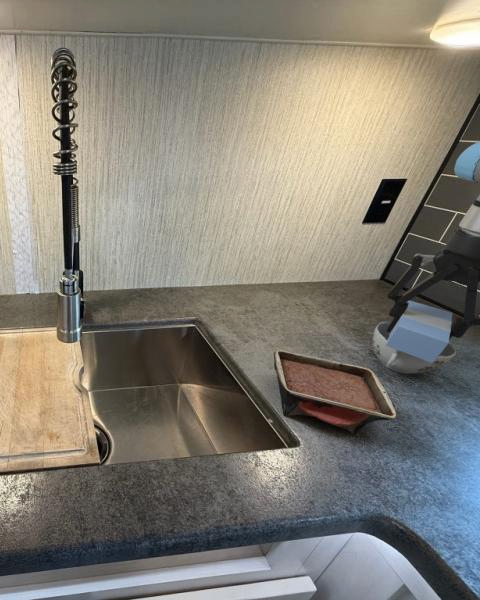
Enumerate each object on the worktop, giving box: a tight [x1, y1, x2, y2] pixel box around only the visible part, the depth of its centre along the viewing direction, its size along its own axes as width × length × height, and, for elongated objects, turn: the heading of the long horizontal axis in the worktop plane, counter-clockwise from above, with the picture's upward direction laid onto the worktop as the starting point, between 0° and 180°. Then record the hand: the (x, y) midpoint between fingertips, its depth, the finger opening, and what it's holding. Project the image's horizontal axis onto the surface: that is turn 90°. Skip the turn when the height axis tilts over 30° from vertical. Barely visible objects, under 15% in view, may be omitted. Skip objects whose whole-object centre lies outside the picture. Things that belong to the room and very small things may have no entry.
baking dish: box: [273, 349, 398, 436], centre depth 59 cm, size 14×18×10 cm
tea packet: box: [386, 300, 454, 363], centre depth 65 cm, size 15×7×5 cm, turn 132°
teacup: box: [372, 321, 457, 375], centre depth 68 cm, size 15×12×8 cm
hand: (413, 337), depth 66 cm, fingers closed on tea packet, 7 cm apart
